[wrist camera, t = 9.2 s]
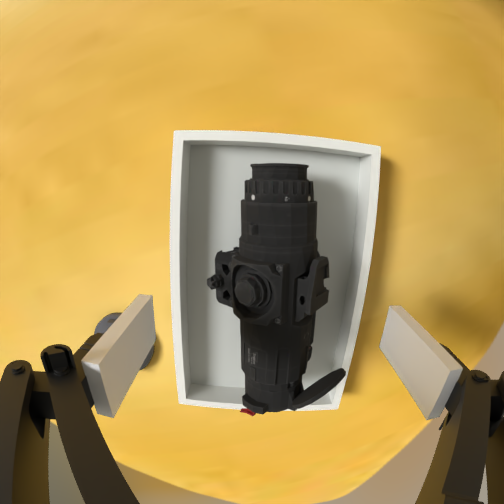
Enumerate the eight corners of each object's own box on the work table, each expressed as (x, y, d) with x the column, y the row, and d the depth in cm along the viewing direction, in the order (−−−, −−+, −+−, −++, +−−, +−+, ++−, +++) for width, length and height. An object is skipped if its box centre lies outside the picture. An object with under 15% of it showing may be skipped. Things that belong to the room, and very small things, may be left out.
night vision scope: (266, 168, 24) (386, 171, 17) (263, 358, 28) (356, 394, 22) (189, 166, 18) (340, 160, 12) (203, 396, 22) (307, 455, 16)
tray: (184, 137, 21) (174, 130, 19) (366, 150, 22) (380, 146, 19) (185, 384, 26) (179, 403, 24) (331, 389, 27) (337, 409, 24)
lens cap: (95, 307, 25) (86, 315, 23) (152, 315, 25) (145, 324, 23) (104, 359, 26) (96, 370, 25) (157, 369, 27) (152, 380, 25)
